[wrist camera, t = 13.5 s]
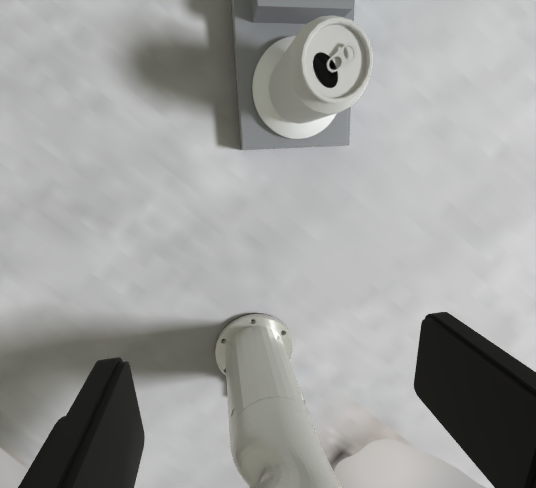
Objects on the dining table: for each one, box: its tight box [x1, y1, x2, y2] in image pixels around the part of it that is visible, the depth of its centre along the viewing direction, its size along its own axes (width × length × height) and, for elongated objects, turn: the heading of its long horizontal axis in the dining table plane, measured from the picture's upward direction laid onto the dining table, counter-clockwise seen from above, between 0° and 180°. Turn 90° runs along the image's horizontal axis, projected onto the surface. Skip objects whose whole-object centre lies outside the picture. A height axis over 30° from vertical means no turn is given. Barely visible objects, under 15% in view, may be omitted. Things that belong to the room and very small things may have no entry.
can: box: [269, 15, 373, 124], centre depth 30 cm, size 8×8×12 cm
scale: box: [231, 0, 354, 150], centre depth 35 cm, size 18×14×7 cm
